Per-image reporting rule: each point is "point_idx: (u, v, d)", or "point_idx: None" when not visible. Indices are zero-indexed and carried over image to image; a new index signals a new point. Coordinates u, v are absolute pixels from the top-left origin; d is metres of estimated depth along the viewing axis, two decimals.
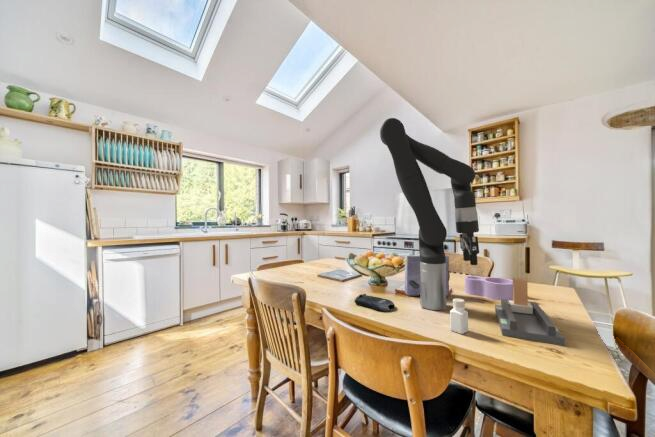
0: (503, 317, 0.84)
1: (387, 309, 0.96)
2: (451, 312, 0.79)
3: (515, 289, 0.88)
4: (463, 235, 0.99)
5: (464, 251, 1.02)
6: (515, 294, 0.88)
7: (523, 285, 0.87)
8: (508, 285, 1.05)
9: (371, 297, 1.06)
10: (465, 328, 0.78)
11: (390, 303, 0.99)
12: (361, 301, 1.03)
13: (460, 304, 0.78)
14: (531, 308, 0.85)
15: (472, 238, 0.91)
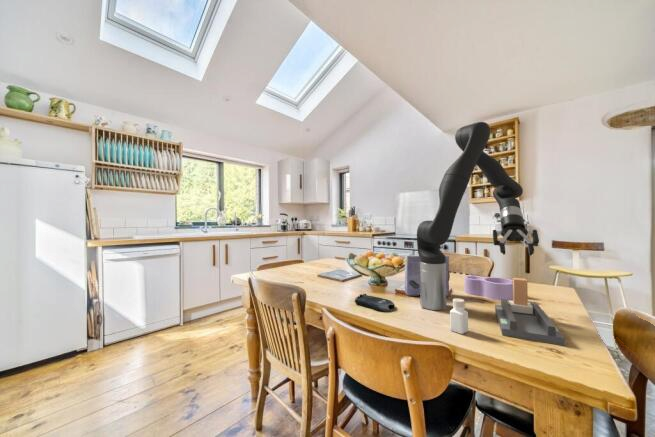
0: (503, 317, 0.84)
1: (387, 309, 0.96)
2: (451, 312, 0.79)
3: (515, 289, 0.88)
4: (508, 229, 1.00)
5: None
6: (515, 294, 0.88)
7: (523, 285, 0.87)
8: (508, 285, 1.05)
9: (371, 297, 1.06)
10: (465, 328, 0.78)
11: (390, 303, 0.98)
12: (361, 301, 1.03)
13: (460, 304, 0.78)
14: (531, 308, 0.85)
15: None
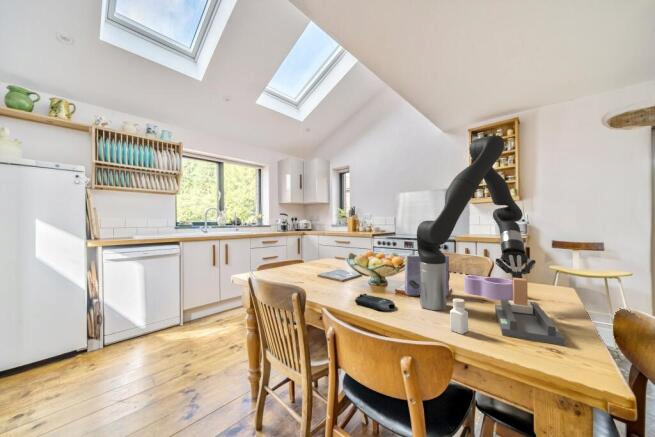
0: (503, 317, 0.84)
1: (387, 309, 0.97)
2: (451, 312, 0.79)
3: (515, 289, 0.88)
4: (509, 254, 1.00)
5: None
6: (515, 294, 0.88)
7: (523, 285, 0.87)
8: (506, 285, 1.05)
9: (371, 297, 1.06)
10: (465, 328, 0.78)
11: (390, 303, 0.99)
12: (362, 301, 1.03)
13: (460, 304, 0.78)
14: (531, 308, 0.85)
15: None
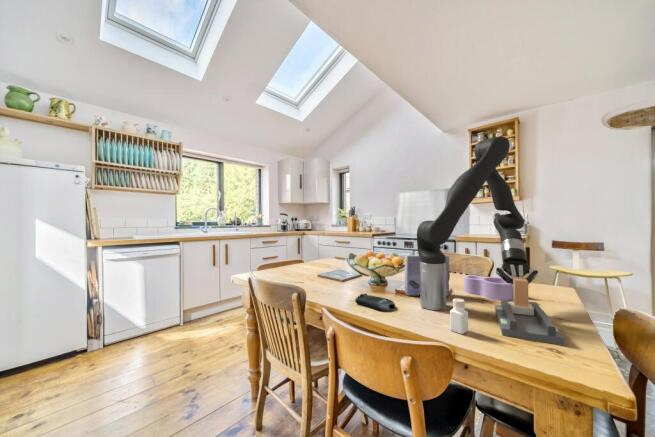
0: (503, 317, 0.84)
1: (387, 309, 0.97)
2: (451, 312, 0.79)
3: (516, 290, 0.87)
4: (510, 264, 0.96)
5: None
6: (516, 295, 0.87)
7: (524, 286, 0.85)
8: (505, 285, 1.05)
9: (372, 297, 1.06)
10: (465, 328, 0.78)
11: (390, 303, 0.99)
12: (362, 300, 1.03)
13: (460, 304, 0.78)
14: (532, 309, 0.84)
15: (537, 273, 0.91)
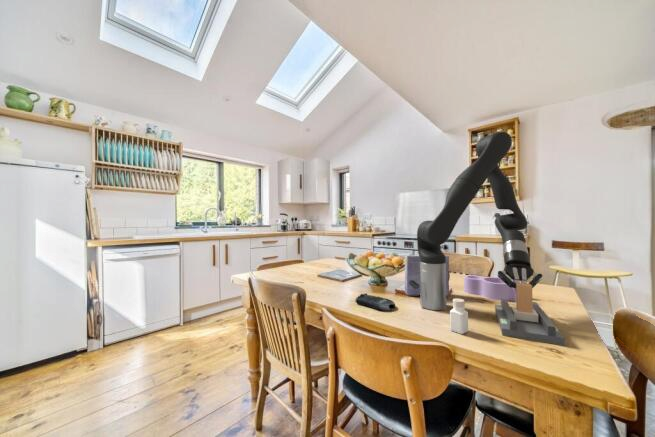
0: (503, 317, 0.84)
1: (387, 309, 0.97)
2: (451, 312, 0.79)
3: (519, 295, 0.81)
4: (512, 267, 0.91)
5: None
6: (519, 300, 0.81)
7: (528, 290, 0.80)
8: (505, 285, 1.05)
9: (372, 297, 1.06)
10: (465, 328, 0.78)
11: (391, 303, 0.99)
12: (362, 300, 1.03)
13: (460, 304, 0.78)
14: (536, 316, 0.79)
15: (541, 277, 0.86)
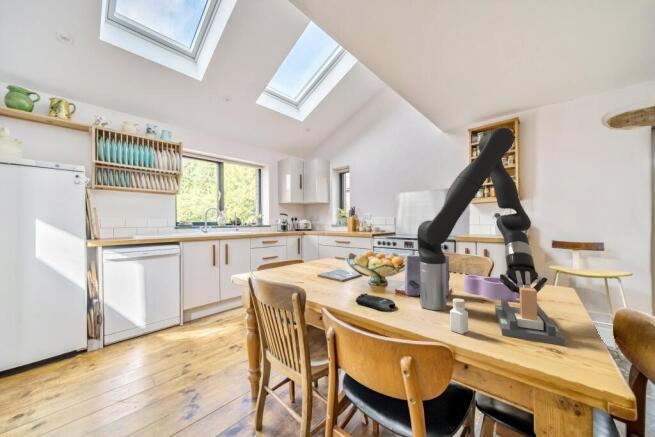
0: (503, 317, 0.84)
1: (388, 309, 0.97)
2: (451, 312, 0.79)
3: (522, 301, 0.76)
4: (515, 270, 0.86)
5: None
6: (522, 306, 0.76)
7: (532, 296, 0.75)
8: (504, 285, 1.05)
9: (372, 297, 1.06)
10: (465, 328, 0.78)
11: (391, 303, 0.99)
12: (362, 300, 1.03)
13: (460, 304, 0.78)
14: (541, 323, 0.73)
15: (546, 281, 0.81)
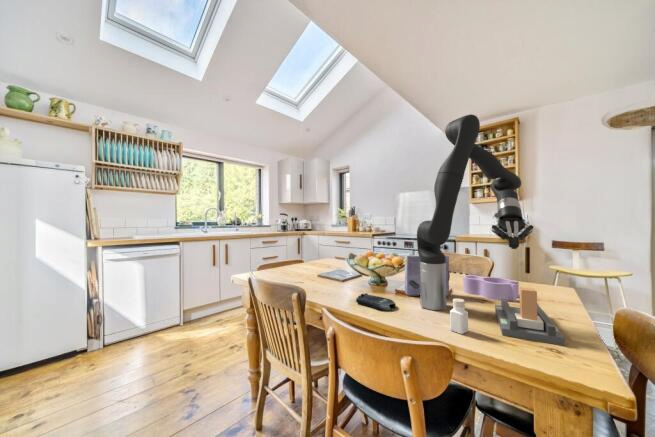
0: (503, 317, 0.84)
1: (388, 308, 0.97)
2: (451, 312, 0.79)
3: (523, 301, 0.76)
4: (505, 221, 0.96)
5: None
6: (522, 306, 0.76)
7: (532, 296, 0.75)
8: (504, 285, 1.05)
9: (372, 296, 1.07)
10: (465, 328, 0.78)
11: (391, 302, 0.99)
12: (363, 300, 1.04)
13: (460, 304, 0.78)
14: (541, 323, 0.73)
15: (532, 228, 0.91)
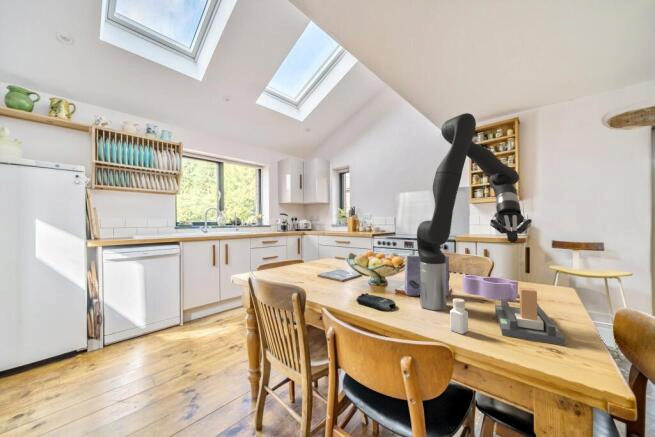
0: (503, 317, 0.84)
1: (388, 308, 0.97)
2: (451, 312, 0.79)
3: (523, 301, 0.76)
4: (504, 215, 0.97)
5: None
6: (522, 306, 0.76)
7: (532, 296, 0.75)
8: (503, 285, 1.05)
9: (373, 296, 1.07)
10: (465, 328, 0.78)
11: (391, 302, 0.99)
12: (363, 300, 1.04)
13: (460, 304, 0.78)
14: (541, 323, 0.73)
15: None
